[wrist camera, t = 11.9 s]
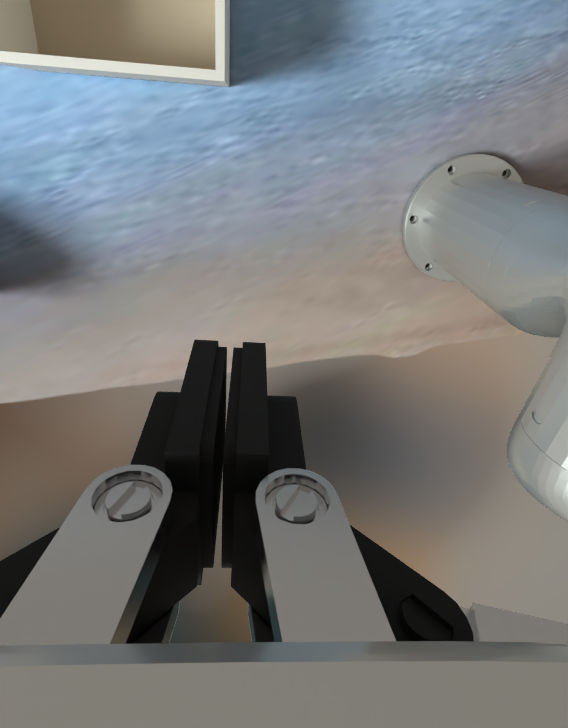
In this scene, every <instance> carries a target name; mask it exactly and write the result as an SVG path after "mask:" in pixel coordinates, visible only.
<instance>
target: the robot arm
mask: <svg viewBox="0 0 568 728" xmlns="http://www.w3.org/2000/svg"><path fill="white" fill-rule="evenodd" d="M449 167H451V170H450V171H449V172H448V168H449ZM503 171H504V174H503V175H502V173H503ZM411 216H413V219H412V220H409V219H410V217H411ZM402 236H403V243H404V246H405V249H406V252H407V254H408V256H409V257H410V259H411V261H412V262H413V263H414V264H415V265H416V266H417V267H418V268H419V269H420V270H421V271H422V272H423V273H425V274H426V275H428V276H430V277H432V278H434V279H438V280H442V281H459V282H460V283H461V284H462V285H463V286H465V287H466V288H467V289H468V290H470V291H471V292H472V293H473V294H474V295H476V296H477V297H478V298H479V299H480V300H482V301H483V302H484V303H485V304H486V305H488V306H489V307H490V308H491V309H492V310H494V311H495V312H496V313H497V314H499V315H500V316H501V317H502V318H504V319H505V320H506V321H507V322H509V323H510V324H511V325H513V326H514V327H516V328H518V329H520V330H522V331H524V332H527V333H529V334H533V335H538V336H544V337H556V338H558V337H559V339H558V341H557V343H556V345H555V347H554V349H553V350H552V352H551V354H550V359H549V361H548V363H547V365H546V367H545V369H544V370H543V372H542V374H541V376H540V378H539V380H538V381H537V383H536V385H535V387H534V388H533V390H532V392H531V394H530V396H529V398H528V399H527V401H526V403H525V405H524V407H523V409H522V410H521V412H520V414H519V416H518V418H517V420H516V422H515V424H514V426H513V428H512V430H511V432H510V436H509V439H508V443H507V459H508V463H509V466H510V468H511V471H512V472H513V474H514V476H515V477H516V479H517V480H518V481H519V483H520V484H521V485H522V486H523V488H525V490H526V491H527V492H528V493H529V494H530V495H531V496H533V497H534V498H535V499H536V500H537V501H538V502H540V503H541V504H542V505H543V506H545V507H546V508H548V509H549V510H550V511H552V512H553V513H555V514H556V515H557V516H559V517H560V518H562V519H564V520H565V521H567V522H568V196H567V195H563V194H560V193H556V192H552V191H549V190H545V189H542V188H538V187H534V186H531V185H527V184H524V183H523V181H522V178H521V176H520V175H519V174H518V172H517V171H516V170H515V168H514V167H512V166H511V165H510V164H509V163H507V162H506V161H504V160H502V159H500V158H498V157H496V156H491V155H487V154H476V153H473V154H466V155H460V156H458V157H455V158H452V159H449V160H447V161H446V162H444V163H442V164H440V165H439V166H437V167H436V168H435V169H433V170H432V171H431V172H430V173H428V174H427V175H426V176H425V178H424V179H423V180H422V181H421V182H420V183H419V184H418V186H417V187H416V189H415V190H414V192H413V194H412V195H411V197H410V199H409V202H408V204H407V206H406V209H405V213H404V217H403V224H402ZM427 263H428V265H427V266H426V264H427ZM226 367H227V347H218V341H210V340H195V341H194V344H193V348H192V351H191V355H190V359H189V362H188V366H187V370H186V374H185V377H184V381H183V385H182V389H181V392H157V393H156V395H155V397H154V400H153V403H152V406H151V408H150V411H149V414H148V417H147V420H146V422H145V425H144V428H143V431H142V434H141V437H140V439H139V442H138V445H137V448H136V451H135V453H134V456H133V459H132V462H131V465H127V466H122V467H117V468H115V469H112V470H110V471H107V472H105V473H103V474H102V475H100V476H99V477H98V478H96V479H95V480H93V482H92V483H91V484H90V485H89V486H88V487H87V488H86V490H85V491H84V493H83V494H82V496H81V497H80V499H79V500H78V502H77V503H76V505H75V506H74V508H73V509H72V511H71V512H70V514H69V515H68V517H67V518H66V520H65V522H64V523H63V525H62V526H61V527H60V528H58V529H56V530H54V531H53V532H51V533H49V534H48V535H46V536H44V537H42V538H40V539H39V540H37V541H35V542H33V543H31V544H30V545H28V546H27V547H24V548H23V549H21V550H19V551H18V552H16V553H14V554H12V555H10V556H9V557H7V558H5V559H3V560H2V561H0V728H568V624H565V623H561V622H556V621H551V620H547V619H543V618H538V617H534V616H529V615H524V614H520V613H516V612H511V611H507V610H502V609H498V608H493V607H489V606H484V605H480V604H475V603H472V606H471V607H470V609H468V608H463V607H459V606H458V604H457V603H456V602H455V601H454V600H453V599H452V598H450V597H449V596H448V595H447V594H446V593H445V592H444V591H442V590H441V589H439V588H438V587H437V586H435V585H434V584H432V583H431V582H430V581H428V580H427V579H425V578H424V577H423V576H421V575H420V574H418V573H417V572H416V571H414V570H413V569H411V568H410V567H408V566H407V565H405V564H404V563H403V562H401V561H400V560H399V559H397V558H396V557H394V556H393V555H392V554H390V553H389V552H387V551H386V550H385V549H383V548H382V547H380V546H379V545H378V544H376V543H375V542H373V541H372V540H370V539H369V538H368V537H366V536H365V535H363V534H362V533H361V532H359V531H358V530H356V529H355V528H353V527H352V526H351V525H349V523H348V520H347V517H346V515H345V512H344V510H343V508H342V505H341V502H340V500H339V497H338V495H337V493H336V491H335V490H334V488H333V486H332V485H331V484H330V483H329V482H328V481H327V480H326V479H325V478H323V477H322V476H320V475H318V474H316V473H314V472H312V471H308V470H306V465H305V458H304V451H303V443H302V436H301V429H300V421H299V414H298V406H297V400H296V397H292V396H267V377H266V346H265V343H252V342H243V348H234V350H233V360H232V370H231V382H230V391H229V402H228V411H227V422H226V421H225V420H226ZM225 423H226V432H225ZM222 471H223V505H222V508H223V509H222V510H223V511H222V568H232V573H231V587H232V588H233V589H234V590H235V591H236V592H238V594H240V595H241V596H242V597H243V598H244V599H245V600H246V601H247V602H248V617H249V625H250V632H251V639H252V642H245V643H243V642H242V643H169V642H170V638H171V635H172V632H173V629H174V625H175V622H176V619H177V616H178V611H179V604H180V602H179V601H180V600H181V599H182V598H183V597H184V596H185V595H187V594H188V593H189V592H191V591H192V590H193V589H194V588H195V587H196V586H197V585H201V581H202V573H203V568H212V567H213V564H214V554H215V544H216V533H217V523H218V512H219V502H220V491H221V481H222Z"/></svg>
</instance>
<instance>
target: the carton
mask: <svg viewBox="0 0 568 728" xmlns="http://www.w3.org/2000/svg"><path fill="white" fill-rule="evenodd" d="M0 64H1V65H7V66H13V67H18V68H24V69H30V70H36V71H46V72H58V73H70V74H82V75H94V76H105V77H117V78H129V79H141V80H153V81H164V82H176V83H188V84H200V85H211V86H223V87H230V0H0Z"/></svg>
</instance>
